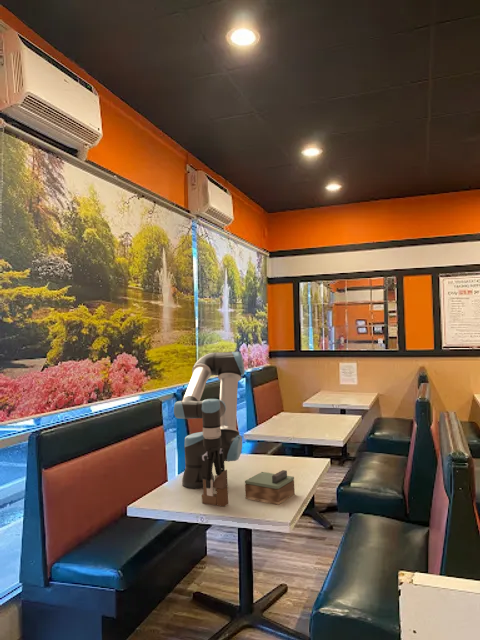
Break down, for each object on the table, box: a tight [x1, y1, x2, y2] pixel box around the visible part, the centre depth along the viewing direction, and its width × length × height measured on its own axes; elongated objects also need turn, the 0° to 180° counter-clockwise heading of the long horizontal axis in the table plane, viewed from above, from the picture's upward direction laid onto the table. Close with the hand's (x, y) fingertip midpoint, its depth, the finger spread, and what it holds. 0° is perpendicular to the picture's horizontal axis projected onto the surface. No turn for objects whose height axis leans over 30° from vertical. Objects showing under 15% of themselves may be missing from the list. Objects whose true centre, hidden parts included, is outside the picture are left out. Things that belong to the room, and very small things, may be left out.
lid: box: [244, 469, 295, 489], centre depth 210 cm, size 16×14×4 cm
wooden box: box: [244, 479, 295, 506], centre depth 210 cm, size 16×14×6 cm
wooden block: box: [201, 460, 229, 508], centre depth 204 cm, size 4×11×18 cm, turn 62°
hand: (214, 493), depth 204 cm, fingers open, 5 cm apart
